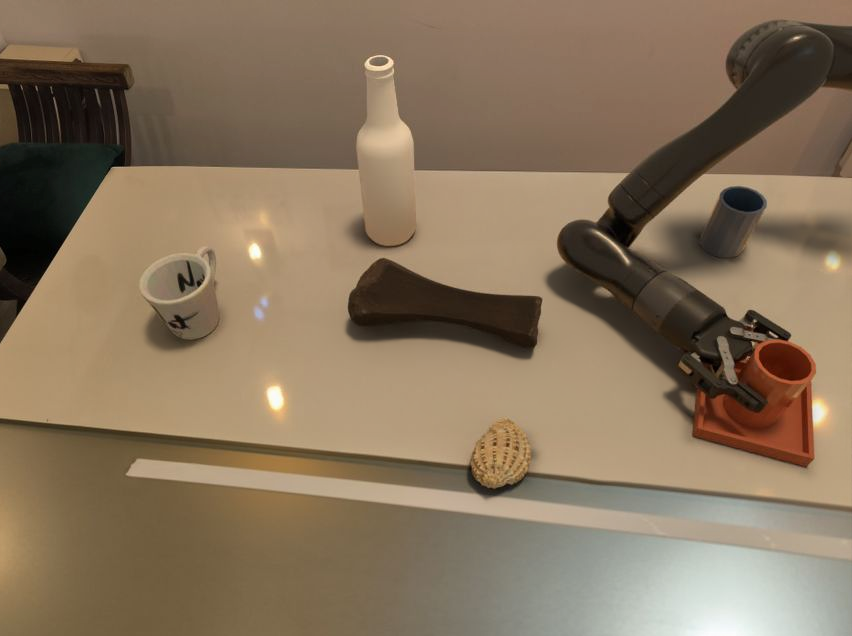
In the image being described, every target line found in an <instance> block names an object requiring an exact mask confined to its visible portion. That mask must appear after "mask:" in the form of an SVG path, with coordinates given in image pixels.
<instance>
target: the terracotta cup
mask: <svg viewBox="0 0 852 636" xmlns="http://www.w3.org/2000/svg"><path fill="white" fill-rule="evenodd" d="M747 360H748V361H747V362H746V364H745V365H744V367H743V368H742V370H741V371H740V373H739V374H738V376H737V378H738V383H740V382H741V381H742V382H744V383H745V384H746V385H748V386H749V387H750V388H752V389H753V390H754V391H756V392H757V393H758V394H760V395H761V396H762V397H763V398H765V399H766V400H767V402H768V404H767V405H766V406H765V407H764V409H763V410H762V411H760V412H759V413H755V412H754V411H750V410H748V409H746V408H745V407H744V406H742V405H741V404H740V403H738V402H737V401H736V400H735V399H733V398H732V397H731V396H729V395H724V399H723V403H724V407H725V409H726V411H727V412H728V414H729V415H730V416H731V417H732V418H733V419H734V420H736V421H737V422H739V423H740V424H742V425H745V426H748V427H751V428H766V427H769V426H771V425H772V424H774V423H775V422H776V421H777V420H778V419H779V418H780V416H781V415H782V414H783V413H784V412H785V410H786V409H787V408H788V407H789V406H790V405H791V403H792V402H793V401H794V400H795V399H796V398H797V396H798V395H799V394H800V393H801V392H802V391H803V389H804V388H805V387H806V386H807V385H808V384H809V382H810V381H811V382H812V380H813V379H814V377H815V375H816V374H817V363H815V360H814V359H813V357H812V356H811V354H810V353H809V352H808V351H807V350H805V349H804V348H803V347H802V346H800V345H797V344H796V343H794V342H792V341H789V340H788V341H783V340H767V341H765V342H763V343H760V344H759V345H758V346H757V348H756V349H755V351H754V352H753V353H752V355H751V356H750V357H749V358H748V359H747Z"/></svg>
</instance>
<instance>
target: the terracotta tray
mask: <svg viewBox="0 0 852 636" xmlns="http://www.w3.org/2000/svg"><path fill="white" fill-rule="evenodd" d="M747 361H748V359H744V360H743V361H740V362H737V364H736V365H735V367H734V370H735V373H736V376H738V374H739V373H740V371H741V370H742V368H743V367H744V365H745V364H746V362H747ZM702 365H703V366H705V367H706V368H707V369H708V370H709V371H710V372H712V371H711V368H710V365H708V364H703V363H702ZM707 383H708V382H707ZM708 384H709V383H708ZM709 385H710V384H709ZM723 399H724V394H723V395H719V396H717V397H716V398H714V399H712V398H709V397H708V396H707V395H706V394H704V393H703V392H702V391H701V390H700V389H699V388H698V387H696V396H695V405H694V416H693V427H692V437H694V438H698V439H703V440H705V441H710V442H713V443H717V444H721V445H725V446H728V447H732V448H736V449H739V450H744V451H746V452H751V453H754V454H758V455H761V456H766V457H769V458H773V459H776V460H780V461H784V462H788V463H791V464H794V465H799V466H802V467H808V466H809V465H810V464H811V463H812V462H813V461H815V441H814V418H813V414H814V413H813V391H812V380H811V381H810V382H809V384H808V385H807V386H806V387H805V388H804V389H803V391H802V392H801V393H800V394H799V395H798V396H797V398H796V399H795V400H794V401H793V402H792V403H791V405H790V406H789V407H788V408H787V409H786V410H785V412H784V413H783V414H782V415H781V416H780V418H779V419H778V420H777V421H776V422H775V423H774V424H772V425H771V426H769V427H766V428H751V427H748V426H745V425H742V424H740V423H739V422H737V421H736V420H734V419H733V418H732V417H731V416H730V415H729V414H728V412H727V411H726V409H725V407H724V403H723Z"/></svg>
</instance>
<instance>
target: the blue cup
mask: <svg viewBox="0 0 852 636" xmlns="http://www.w3.org/2000/svg"><path fill="white" fill-rule="evenodd" d="M767 206H768V201H767V199H766V198H765V195H763V194H762V193H760V192H759V191H758V190H756V189H753V188H750V187H747V186H741V185H735V186H729V187H726V188H724V189H722V191H720V192H719V194H718V196H717V199H716V201H715V204H714V205H713V208H712V210H711V212H710V215H709V216H708V219H707V221H706V223H705V225H704V227H703V229H702V231H701V234H700V237H699V245H700V247H701V248H702V249H703V250H704V251H705V252H707V253H708V254H710V255H711V256H714V257H717V258H720V259H721V258H723V259H732V258H736V257H738V256H740V255H741V254H742V253H743V251H744V249H745V248H746V246H747V244H748V242H749V240H750V239H751V236H752V235H753V233H754V231H755V229H756V227H757V225H758V223H759V222H760V220H761V218H762V217H763V215H764V212H765V211H766V209H767Z"/></svg>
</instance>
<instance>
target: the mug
mask: <svg viewBox="0 0 852 636" xmlns="http://www.w3.org/2000/svg"><path fill="white" fill-rule="evenodd" d="M206 254H207V257H208V261H207V260H206V259H205V258H203V257H204V256H205V255H206ZM216 271H217V256H216V252H215V250H213V248H211V246H209V245H204V246H201V247H200V248H199V249H197V251H196V252H195V253H188V252H180V253H179V252H178V253H173V254H170V255H166V256H163V257H161V258H159V259H158V260H156V261H154V262H153V263H151V264H150V265H149V266H148V267H147V268H146V269H145V270H144V271H143V273H142V275H141V277H140V279H139V284H138V285H139V286H138V288H139V292H140V294H141V297H142V298H143V299H144V300H145V301H146V303H148V305H149V307H151V308H152V309H153V311H154V312H155V313H156V314H157V315H158V317H159V318H160V319H161V320H162V322H163V323H165V325H166V327H168V328H169V330H170V331H171V333H173V334H174V335H175V337H177V338H180V339H182V340H190V341H191V340H198V339H201V338H204V337H206V336H207V335H209V334H210V333H212V332H213V331H214V330H215V329H216V327H217V326H218V325H219V321H220V309H219V305H218V298H217V294H216V288H215V277H216Z"/></svg>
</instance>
